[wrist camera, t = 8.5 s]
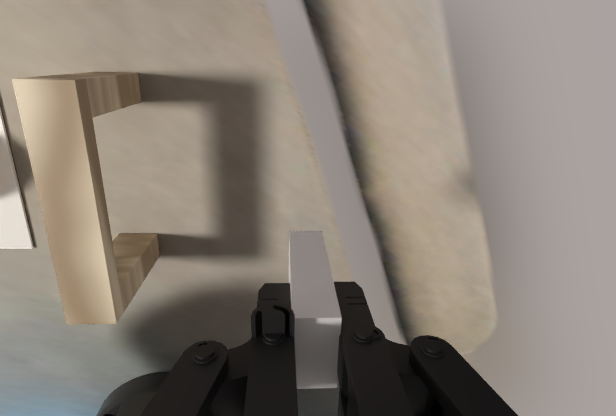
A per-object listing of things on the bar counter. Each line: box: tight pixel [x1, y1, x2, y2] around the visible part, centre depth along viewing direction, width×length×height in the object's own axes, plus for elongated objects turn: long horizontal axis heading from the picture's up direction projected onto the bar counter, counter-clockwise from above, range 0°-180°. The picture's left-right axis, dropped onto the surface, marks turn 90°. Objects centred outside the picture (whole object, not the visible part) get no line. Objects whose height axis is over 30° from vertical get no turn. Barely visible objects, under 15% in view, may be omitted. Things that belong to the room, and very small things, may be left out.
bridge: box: [12, 72, 160, 324], centre depth 27 cm, size 3×14×9 cm, turn 178°
